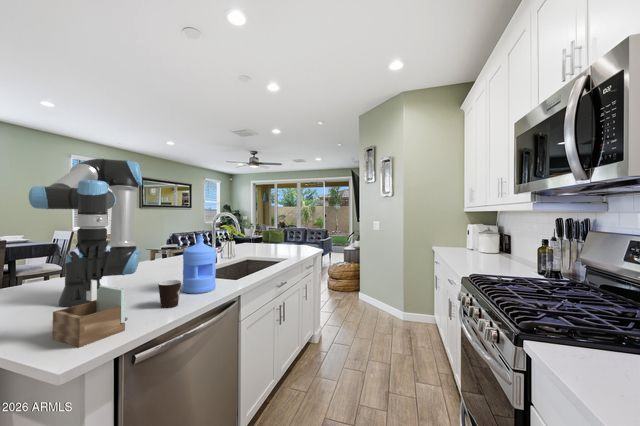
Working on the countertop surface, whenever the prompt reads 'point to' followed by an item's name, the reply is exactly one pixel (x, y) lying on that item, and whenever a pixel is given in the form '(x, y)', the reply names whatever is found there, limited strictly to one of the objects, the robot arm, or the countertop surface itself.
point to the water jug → (199, 268)
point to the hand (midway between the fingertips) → (91, 299)
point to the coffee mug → (169, 293)
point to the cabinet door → (111, 300)
